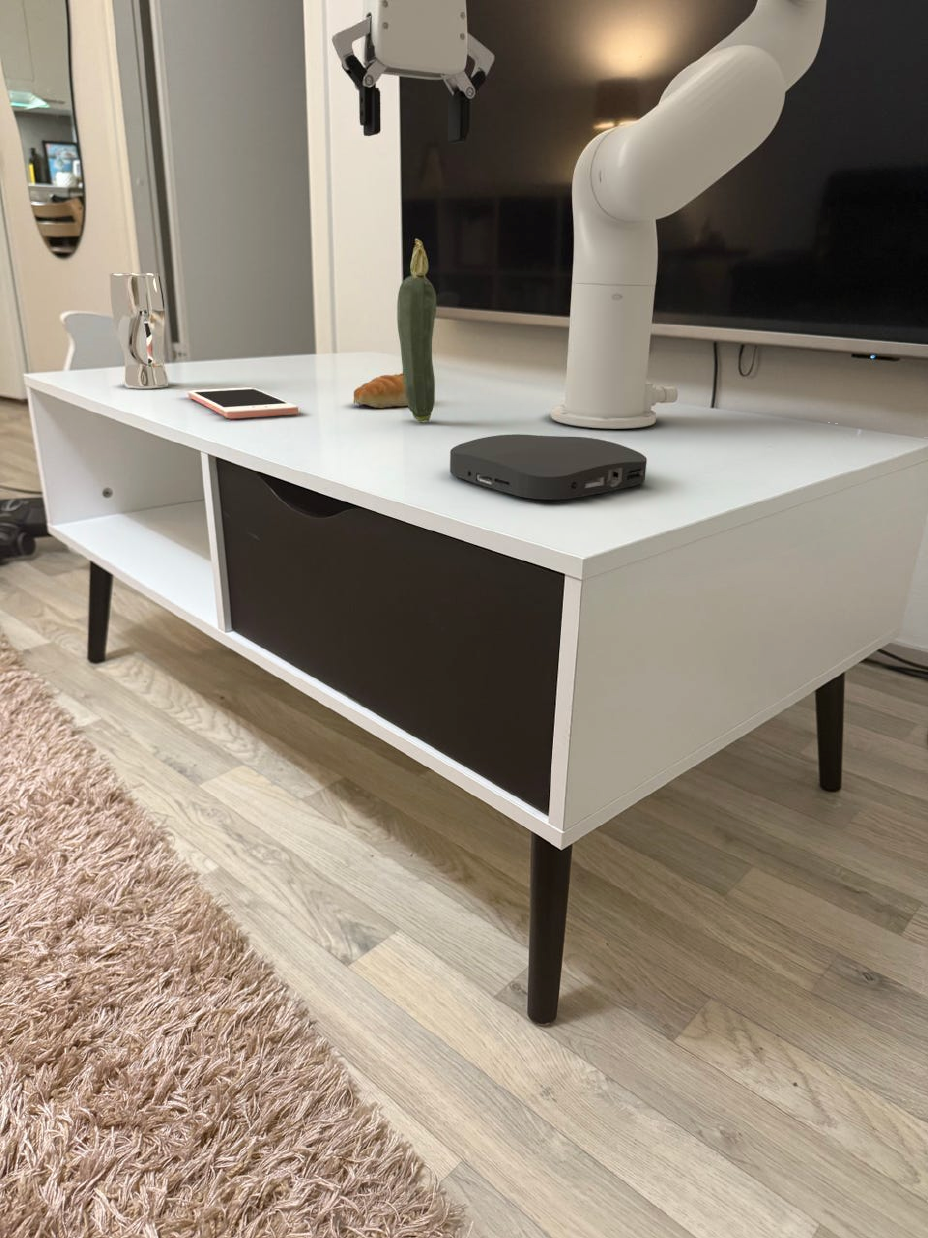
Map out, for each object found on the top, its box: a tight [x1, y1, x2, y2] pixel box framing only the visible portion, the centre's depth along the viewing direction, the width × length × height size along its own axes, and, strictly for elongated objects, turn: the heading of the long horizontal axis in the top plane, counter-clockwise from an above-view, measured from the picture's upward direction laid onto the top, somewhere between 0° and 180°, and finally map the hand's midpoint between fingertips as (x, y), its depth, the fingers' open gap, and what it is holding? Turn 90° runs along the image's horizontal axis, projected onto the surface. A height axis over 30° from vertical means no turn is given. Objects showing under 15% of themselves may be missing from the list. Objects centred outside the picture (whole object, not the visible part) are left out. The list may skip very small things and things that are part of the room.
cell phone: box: [187, 386, 299, 419], centre depth 114 cm, size 9×18×1 cm, turn 30°
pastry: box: [352, 372, 408, 409], centre depth 117 cm, size 9×7×4 cm
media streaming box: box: [449, 433, 648, 501], centre depth 80 cm, size 15×15×3 cm
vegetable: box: [396, 238, 437, 423], centre depth 102 cm, size 4×4×20 cm
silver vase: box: [109, 272, 170, 390], centre depth 126 cm, size 7×7×15 cm
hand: (415, 138), depth 94 cm, fingers open, 9 cm apart
